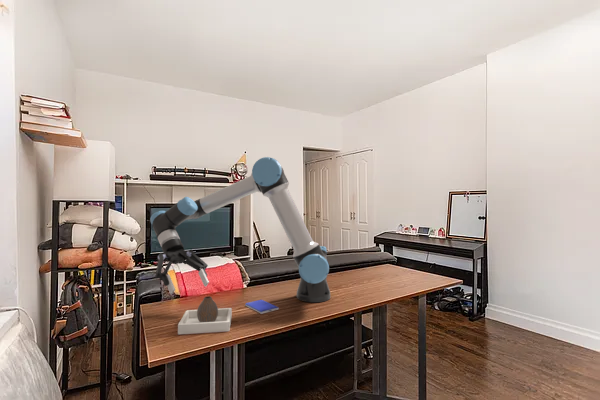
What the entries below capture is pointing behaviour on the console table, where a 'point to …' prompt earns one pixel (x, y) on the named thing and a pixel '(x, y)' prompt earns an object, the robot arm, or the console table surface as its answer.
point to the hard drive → (261, 306)
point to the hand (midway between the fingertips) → (190, 288)
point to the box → (192, 324)
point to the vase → (207, 310)
